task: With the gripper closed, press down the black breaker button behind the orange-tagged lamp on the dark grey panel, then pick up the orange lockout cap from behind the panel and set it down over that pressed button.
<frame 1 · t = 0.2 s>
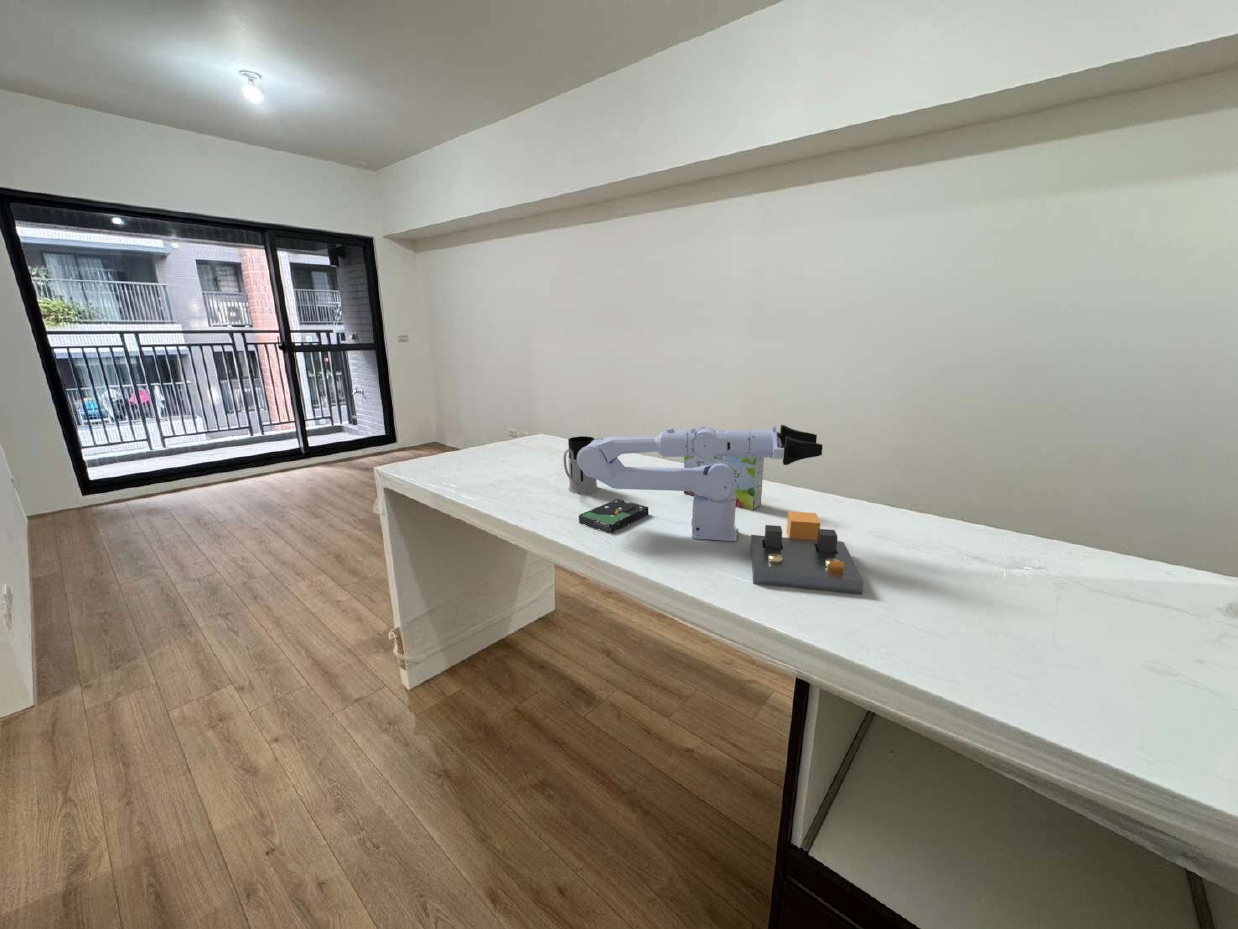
hand: (819, 444, 96), 21 cm above the table, tool horizontal, fingers open, 7 cm apart
tagged breaker: (826, 541, 92), point 4 cm above the table, slide at 0.0 cm
snack box: (720, 500, 128), on the table
disk drive: (614, 521, 116), on the table
lockout cap: (801, 538, 103), on the table
breaker panel: (800, 567, 90), on the table
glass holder: (578, 492, 136), on the table
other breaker: (772, 537, 94), point 4 cm above the table, slide at 0.0 cm
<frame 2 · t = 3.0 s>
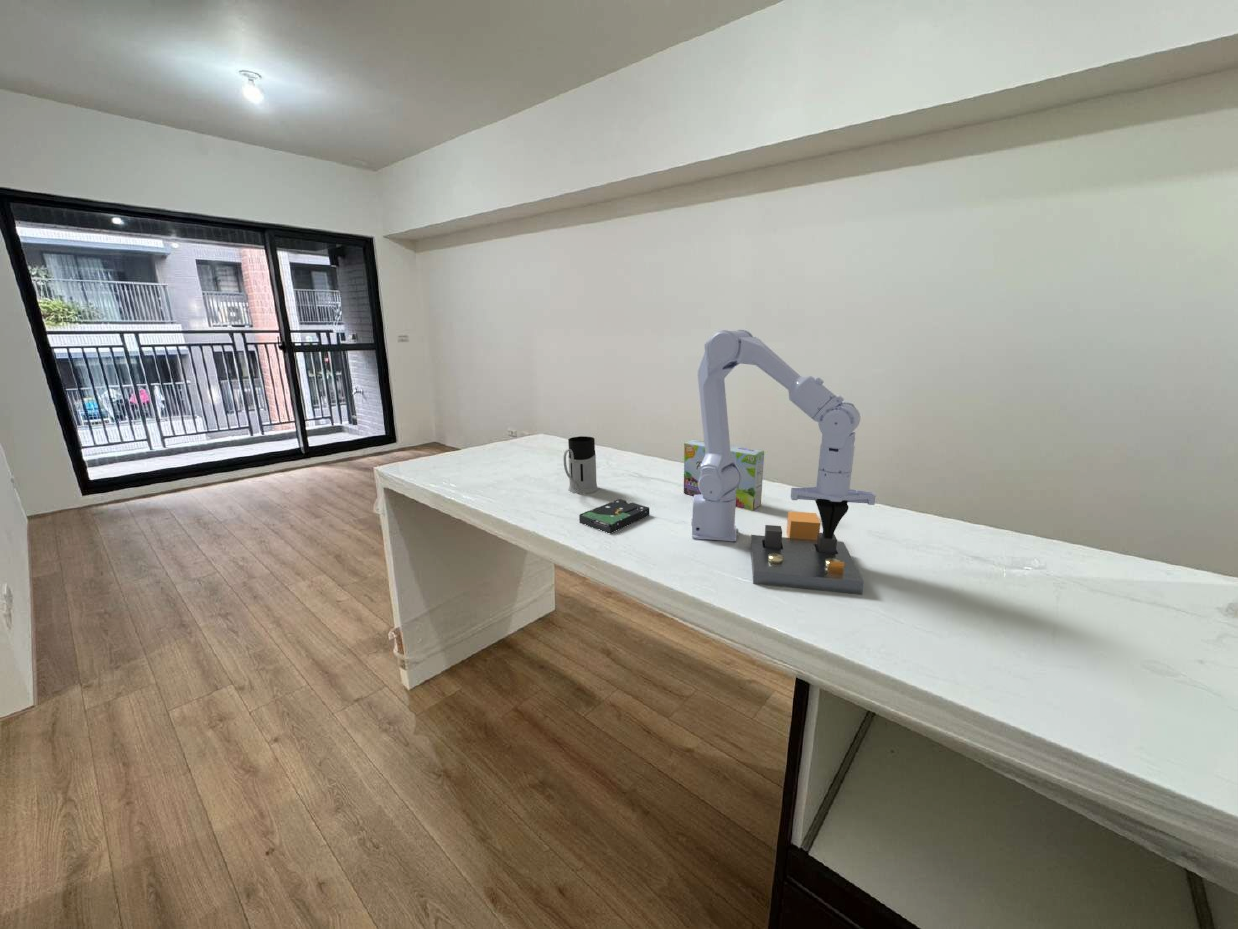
hand: (827, 536, 91), 5 cm above the table, tool pointing down, fingers closed, pressing on tagged breaker
tagged breaker: (826, 545, 92), point 3 cm above the table, slide at 0.8 cm, touching gripper
everything else where it was.
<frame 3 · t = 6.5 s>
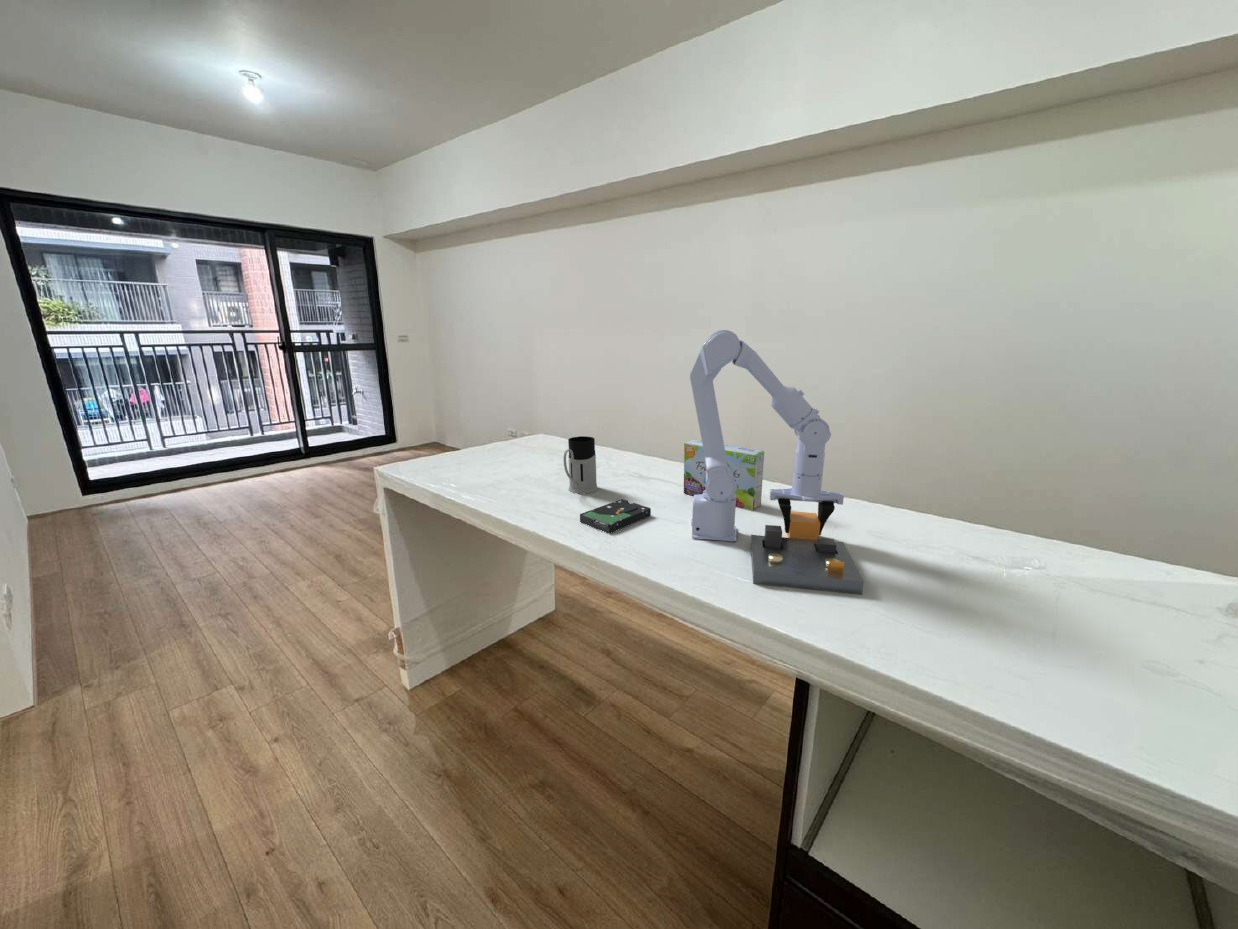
hand: (802, 532, 103), 1 cm above the table, tool pointing down, fingers closed on lockout cap, 6 cm apart
tagged breaker: (825, 550, 92), point 2 cm above the table, slide at 1.9 cm
lockout cap: (801, 538, 103), on the table, touching gripper
everything else where it was.
when the fingers open (5 cm above the table, at t = 10.3 s): lockout cap stays where it is, resting on breaker panel.
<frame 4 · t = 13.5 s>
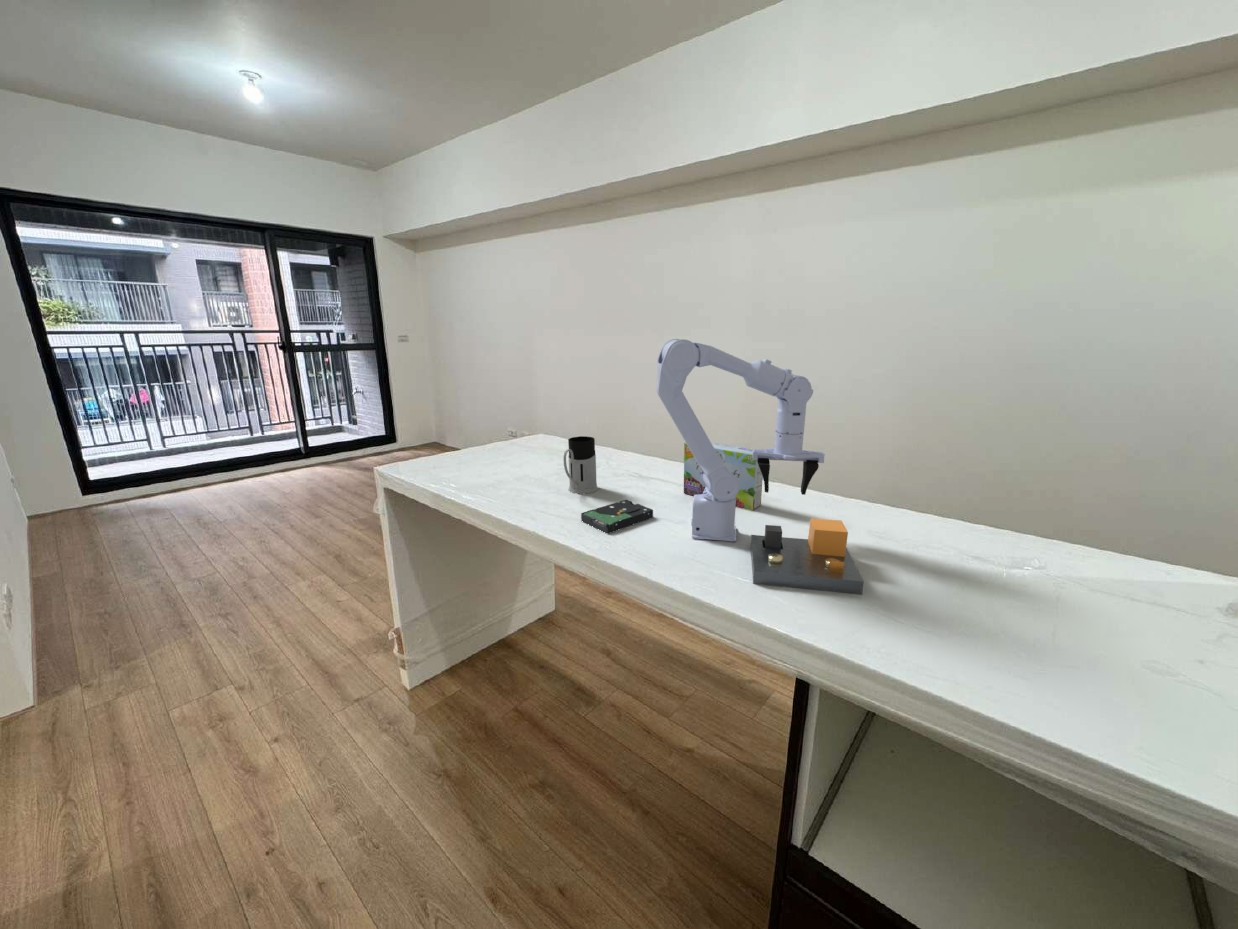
hand: (784, 492, 104), 9 cm above the table, tool pointing down, fingers open, 7 cm apart
lockout cap: (825, 548, 92), point 2 cm above the table, touching breaker panel
at the end: tagged breaker slide at 1.9 cm; lockout cap 0.1 cm from the target spot, point 2.5 cm above the table; lockout cap tilted 0° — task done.
